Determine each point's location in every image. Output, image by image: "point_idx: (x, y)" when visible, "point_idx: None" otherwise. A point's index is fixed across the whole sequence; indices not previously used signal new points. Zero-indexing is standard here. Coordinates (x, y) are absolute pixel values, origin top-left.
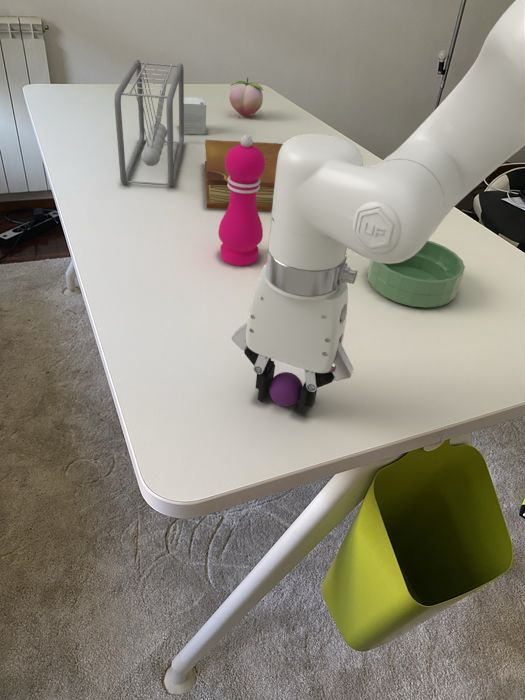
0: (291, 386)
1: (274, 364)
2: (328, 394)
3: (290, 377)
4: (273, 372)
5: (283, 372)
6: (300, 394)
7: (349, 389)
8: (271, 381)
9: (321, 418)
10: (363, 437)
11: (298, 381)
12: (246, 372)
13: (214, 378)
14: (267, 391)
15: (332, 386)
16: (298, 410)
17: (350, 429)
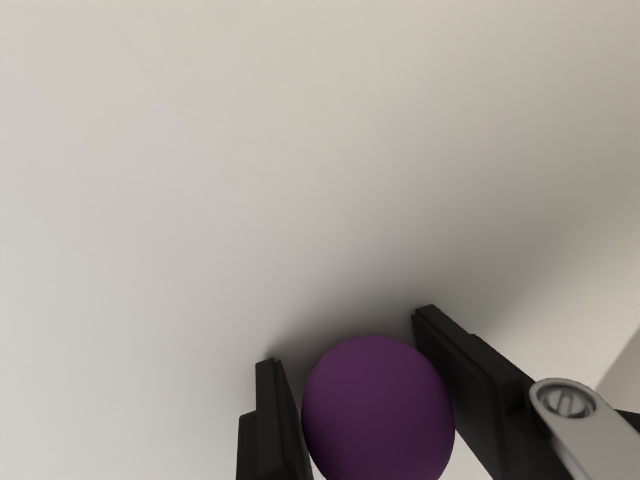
0: (439, 477)
1: (294, 470)
2: (463, 221)
3: (420, 469)
4: (292, 431)
5: (357, 446)
6: (486, 466)
7: (516, 136)
8: (325, 477)
9: (491, 335)
10: (619, 306)
11: (448, 430)
12: (129, 359)
13: (62, 475)
14: (298, 421)
15: (456, 169)
16: None
17: (580, 307)
